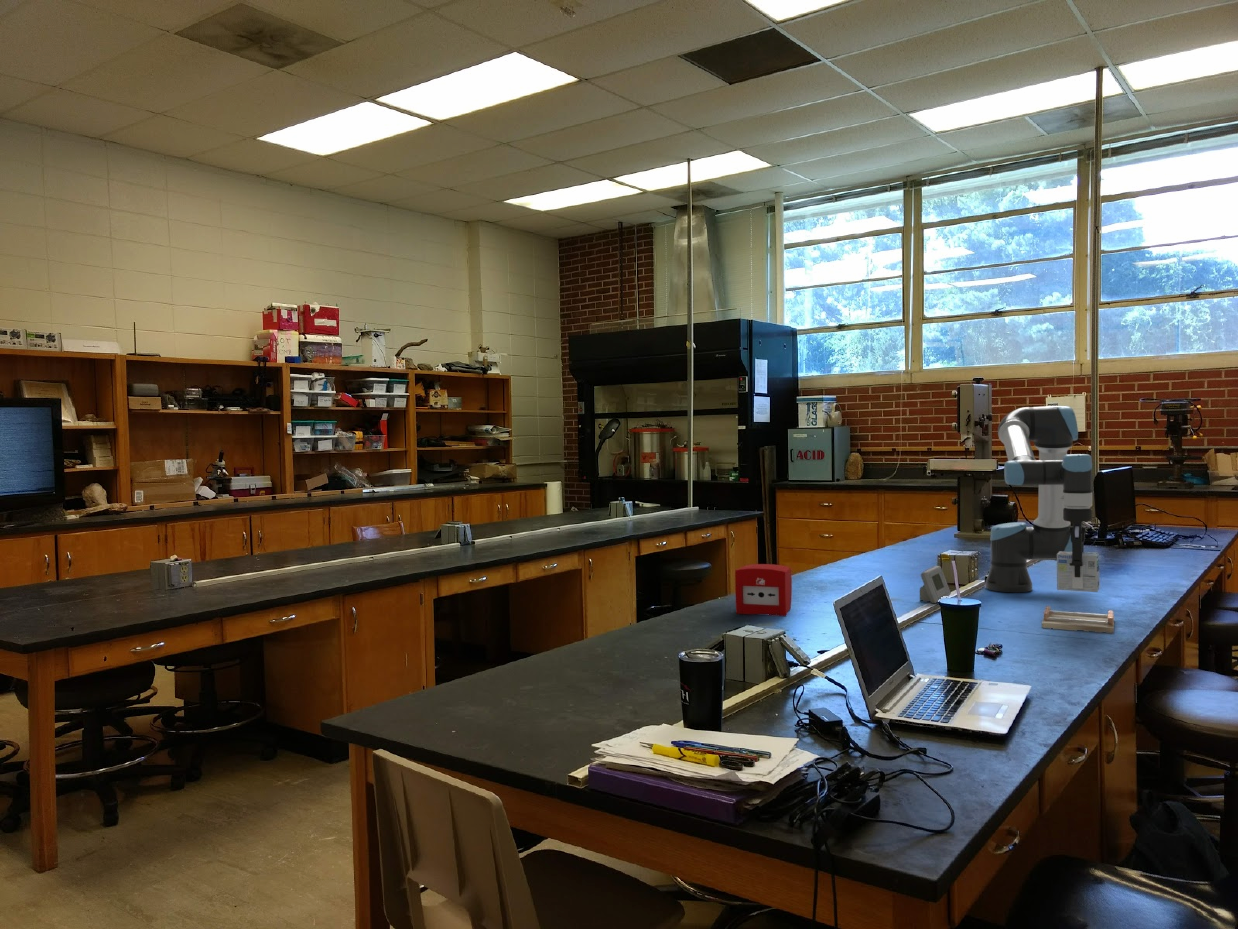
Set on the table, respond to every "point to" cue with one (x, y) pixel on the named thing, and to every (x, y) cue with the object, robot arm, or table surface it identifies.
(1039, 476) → the robot arm
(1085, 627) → the mounting board
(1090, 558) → the light bulb box
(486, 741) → the table surface
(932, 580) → the digital clock
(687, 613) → the table surface
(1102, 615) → the rectangular frame
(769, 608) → the fire alarm
